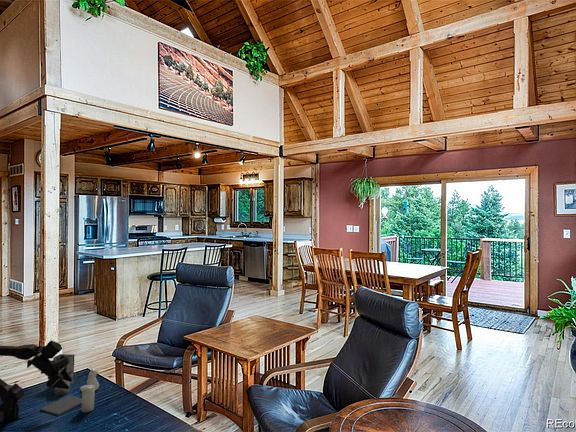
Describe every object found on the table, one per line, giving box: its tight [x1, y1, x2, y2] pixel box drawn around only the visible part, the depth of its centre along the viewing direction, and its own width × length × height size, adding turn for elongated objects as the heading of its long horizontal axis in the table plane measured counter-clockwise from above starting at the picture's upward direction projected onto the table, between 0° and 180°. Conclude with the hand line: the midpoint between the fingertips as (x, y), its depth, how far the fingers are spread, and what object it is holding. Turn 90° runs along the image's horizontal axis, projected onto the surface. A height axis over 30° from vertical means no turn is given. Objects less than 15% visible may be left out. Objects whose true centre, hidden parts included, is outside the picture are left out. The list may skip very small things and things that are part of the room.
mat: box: [40, 394, 82, 417], centre depth 187 cm, size 16×13×1 cm
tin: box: [54, 380, 71, 396], centre depth 202 cm, size 7×7×8 cm
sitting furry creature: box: [79, 368, 100, 392], centre depth 205 cm, size 10×9×12 cm
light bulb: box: [81, 384, 95, 413], centre depth 184 cm, size 6×6×11 cm
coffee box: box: [52, 353, 75, 385], centre depth 213 cm, size 9×6×16 cm
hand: (70, 384), depth 181 cm, fingers open, 9 cm apart
